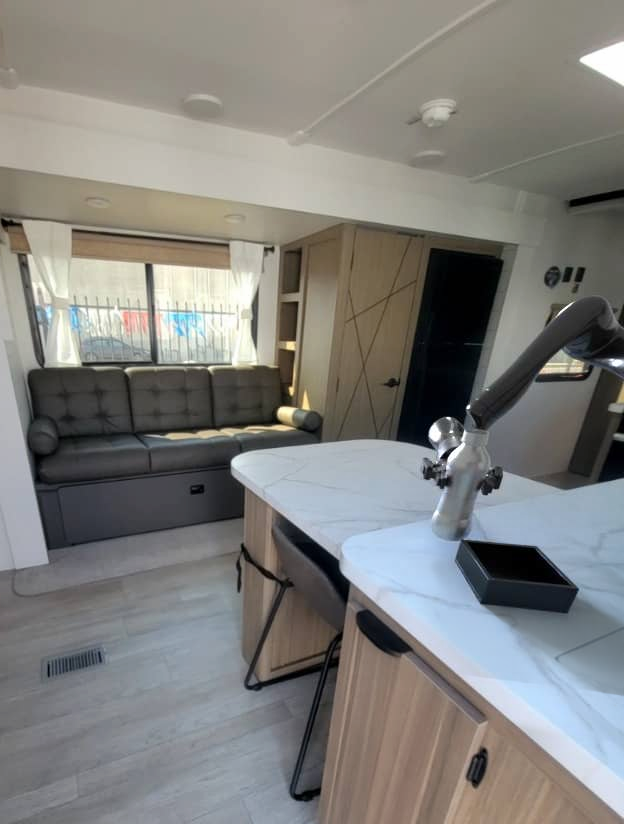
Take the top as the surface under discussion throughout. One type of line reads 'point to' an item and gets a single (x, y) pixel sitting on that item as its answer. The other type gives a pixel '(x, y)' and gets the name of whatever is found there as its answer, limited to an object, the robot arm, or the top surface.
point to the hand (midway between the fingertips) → (464, 486)
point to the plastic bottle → (462, 486)
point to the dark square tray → (514, 576)
